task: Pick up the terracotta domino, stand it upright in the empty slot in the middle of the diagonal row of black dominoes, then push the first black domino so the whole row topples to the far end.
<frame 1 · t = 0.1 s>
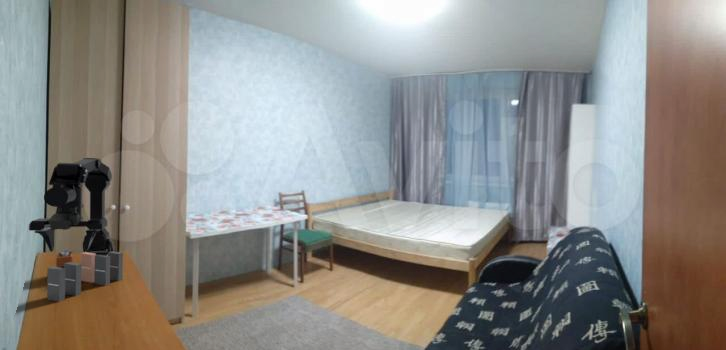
hand: (69, 250, 113), 15 cm above the table, tool pointing down, fingers open, 9 cm apart
domino 1: (114, 279, 129), on the table
domino 5: (55, 299, 110), on the table
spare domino: (87, 280, 127), on the table
domino 4: (72, 294, 115), on the table
battery: (64, 279, 127), on the table
domino 2: (102, 283, 125), on the table
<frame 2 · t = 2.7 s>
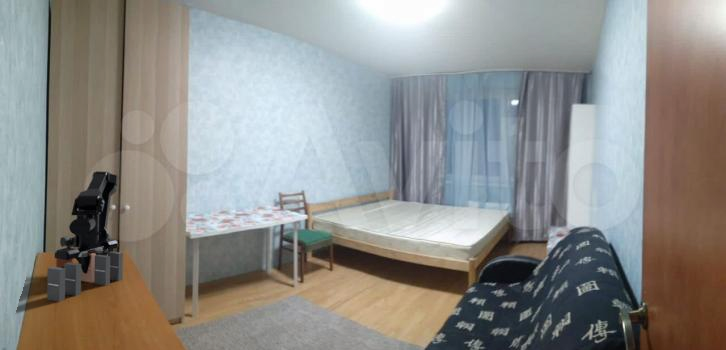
hand: (88, 272, 127), 3 cm above the table, tool pointing down, fingers closed on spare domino, 2 cm apart
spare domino: (87, 280, 127), on the table, touching gripper
everything else where it was.
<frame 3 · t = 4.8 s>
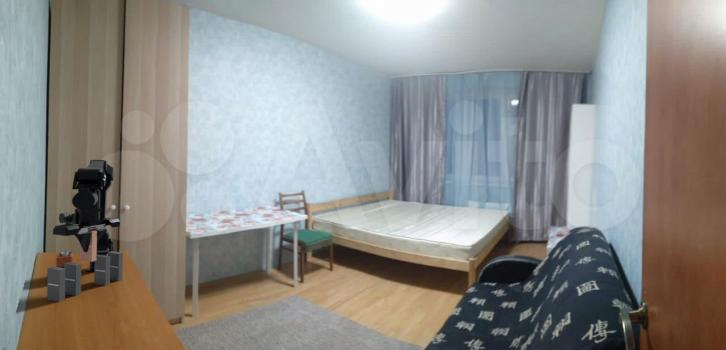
hand: (88, 251, 119), 13 cm above the table, tool pointing down, fingers closed on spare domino
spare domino: (88, 260, 119), point 10 cm above the table, touching gripper
everything else where it was.
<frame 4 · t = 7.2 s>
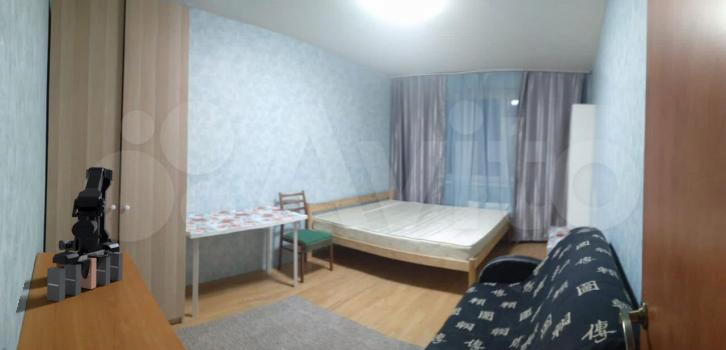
hand: (88, 277, 120), 4 cm above the table, tool pointing down, fingers closed
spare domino: (87, 287, 120), on the table
domino 4: (72, 294, 115), on the table, touching gripper
everything else where it was.
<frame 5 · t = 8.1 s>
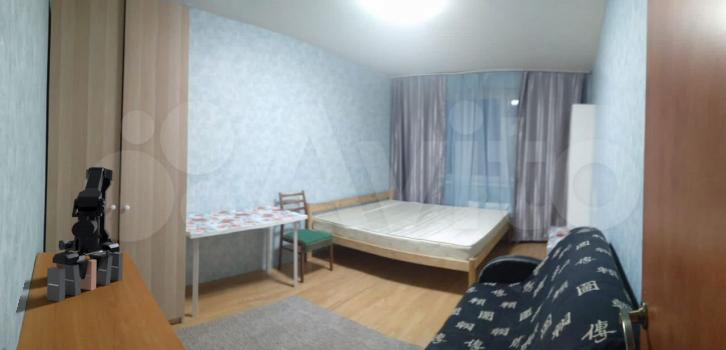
hand: (87, 277, 120), 4 cm above the table, tool pointing down, fingers open, 3 cm apart
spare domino: (87, 288, 120), on the table
everything else where it was.
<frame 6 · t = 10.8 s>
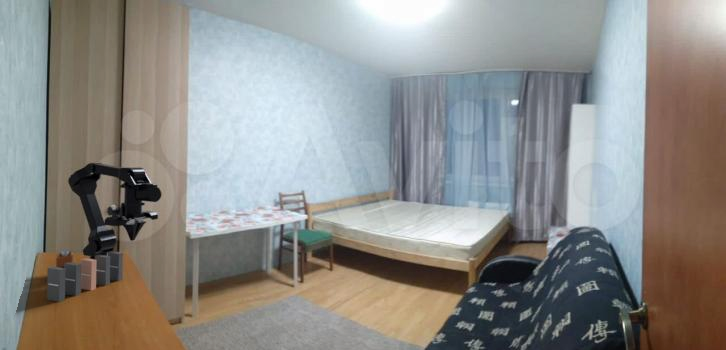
hand: (132, 240, 136), 13 cm above the table, tool pointing down, fingers closed
domino 4: (72, 294, 115), on the table
domino 2: (102, 283, 125), on the table
everything else where it was.
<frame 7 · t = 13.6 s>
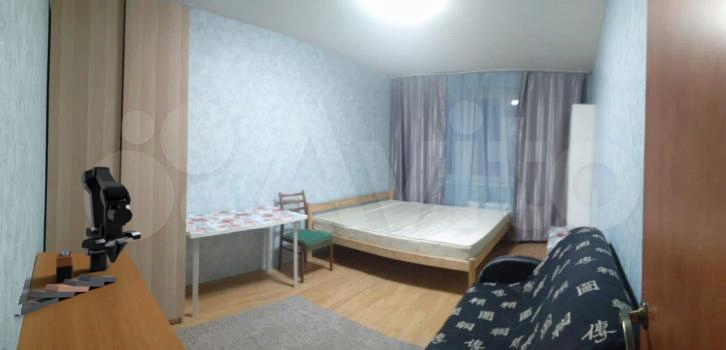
hand: (112, 262, 128), 6 cm above the table, tool pointing down, fingers closed
domino 1: (111, 278, 128), point 1 cm above the table, tilted 71°
domino 5: (52, 298, 109), point 1 cm above the table, tilted 90°, touching domino 4
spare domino: (82, 288, 118), point 1 cm above the table, tilted 71°, touching domino 2, domino 4
domino 4: (68, 293, 114), point 1 cm above the table, tilted 71°, touching domino 5, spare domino
domino 2: (98, 283, 123), point 1 cm above the table, tilted 71°, touching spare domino
everything else where it was.
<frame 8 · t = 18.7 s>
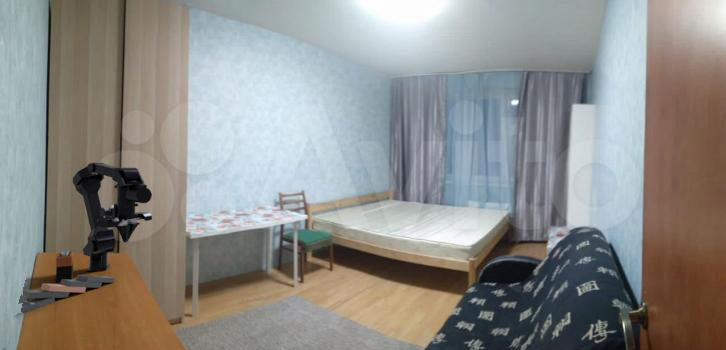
hand: (125, 242, 133), 13 cm above the table, tool pointing down, fingers closed
domino 1: (109, 279, 127), point 1 cm above the table, tilted 70°, touching domino 2
domino 5: (49, 299, 108), point 1 cm above the table, tilted 89°
domino 4: (64, 293, 113), point 1 cm above the table, tilted 74°, touching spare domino
domino 2: (96, 284, 122), point 1 cm above the table, tilted 70°, touching domino 1, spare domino
at the end: domino 5 tilted 89°; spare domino tilted 70°; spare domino inside the target area (2.5 cm from its centre), point 0.9 cm above the table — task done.
